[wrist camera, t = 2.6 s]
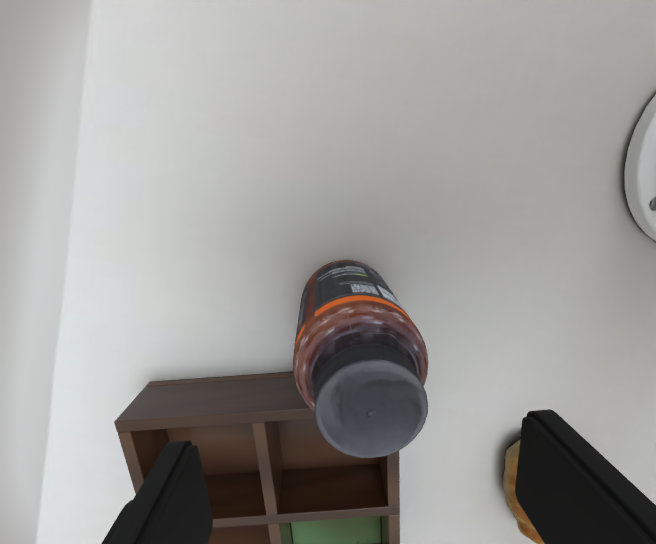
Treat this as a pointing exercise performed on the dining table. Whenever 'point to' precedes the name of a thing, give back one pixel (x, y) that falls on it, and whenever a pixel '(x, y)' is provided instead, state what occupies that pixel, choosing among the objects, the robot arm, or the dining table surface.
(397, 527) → the grid
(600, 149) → the dining table surface
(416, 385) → the supplement bottle
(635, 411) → the dining table surface
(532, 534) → the pastry
